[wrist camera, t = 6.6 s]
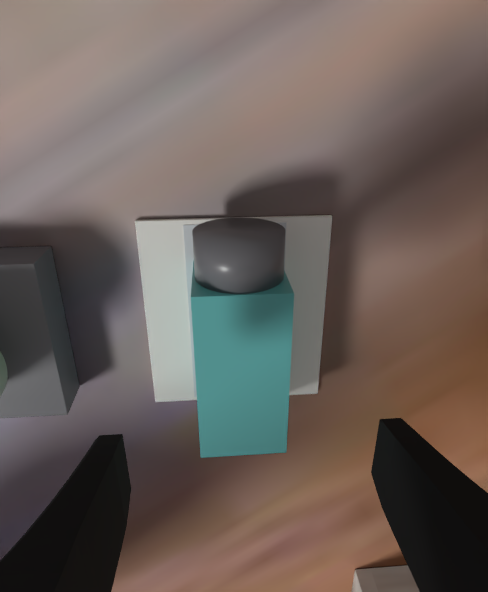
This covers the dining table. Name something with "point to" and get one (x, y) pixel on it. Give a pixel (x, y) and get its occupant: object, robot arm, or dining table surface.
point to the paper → (177, 299)
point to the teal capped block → (241, 336)
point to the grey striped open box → (384, 580)
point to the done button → (3, 374)
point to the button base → (34, 336)
